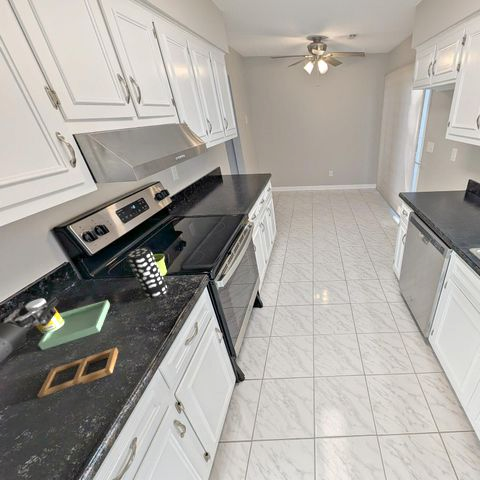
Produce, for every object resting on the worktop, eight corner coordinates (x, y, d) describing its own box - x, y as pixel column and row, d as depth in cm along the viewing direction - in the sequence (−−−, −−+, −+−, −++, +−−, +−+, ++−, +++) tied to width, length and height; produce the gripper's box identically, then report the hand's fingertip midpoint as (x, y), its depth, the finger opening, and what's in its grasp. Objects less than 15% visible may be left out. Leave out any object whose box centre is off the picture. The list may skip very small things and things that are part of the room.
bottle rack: (41, 400, 70) (37, 395, 69) (54, 373, 77) (51, 369, 76) (112, 373, 75) (109, 369, 74) (118, 351, 82) (115, 347, 81)
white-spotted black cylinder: (158, 299, 104) (138, 258, 95) (141, 298, 106) (120, 257, 96) (171, 286, 111) (155, 247, 102) (155, 285, 113) (137, 246, 103)
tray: (42, 350, 85) (37, 344, 84) (61, 318, 98) (57, 313, 97) (99, 331, 91) (96, 326, 89) (110, 304, 103) (107, 299, 102)
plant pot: (144, 278, 119) (136, 262, 115) (162, 267, 126) (155, 252, 122) (156, 282, 115) (149, 266, 111) (174, 271, 123) (168, 255, 118)
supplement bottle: (56, 319, 81) (38, 295, 76) (69, 321, 79) (52, 297, 75) (36, 332, 76) (16, 308, 71) (50, 335, 75) (30, 310, 70)
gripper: (15, 331, 61) (64, 287, 75) (-55, 342, 59) (10, 295, 74) (33, 352, 64) (77, 306, 79) (-32, 363, 62) (25, 314, 77)
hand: (44, 301), depth 76 cm, fingers closed on supplement bottle, 5 cm apart
